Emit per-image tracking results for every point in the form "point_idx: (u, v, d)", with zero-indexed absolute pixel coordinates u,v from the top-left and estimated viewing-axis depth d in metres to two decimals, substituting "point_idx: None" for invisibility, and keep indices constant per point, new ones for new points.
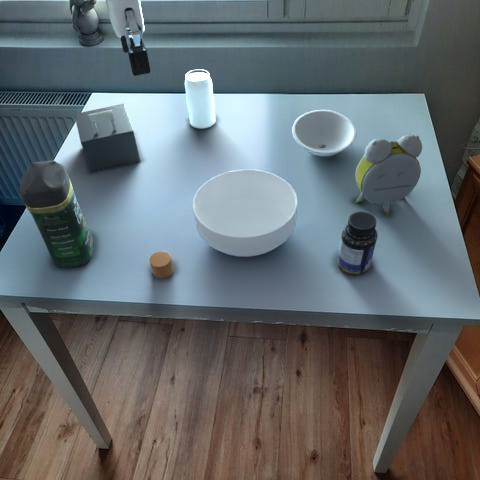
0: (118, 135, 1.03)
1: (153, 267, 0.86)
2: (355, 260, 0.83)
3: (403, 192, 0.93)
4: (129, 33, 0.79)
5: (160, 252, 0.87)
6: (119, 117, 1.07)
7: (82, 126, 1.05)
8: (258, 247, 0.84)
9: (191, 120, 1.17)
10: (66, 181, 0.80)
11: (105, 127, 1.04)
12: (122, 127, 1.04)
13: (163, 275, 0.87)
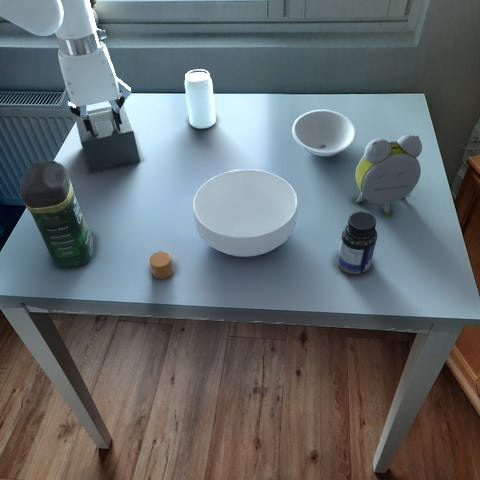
0: (118, 135, 1.03)
1: (153, 267, 0.86)
2: (355, 260, 0.83)
3: (403, 192, 0.93)
4: None
5: (160, 252, 0.87)
6: None
7: (82, 126, 1.05)
8: (258, 247, 0.84)
9: (191, 120, 1.17)
10: (66, 181, 0.80)
11: (105, 127, 1.04)
12: (122, 127, 1.04)
13: (163, 275, 0.87)
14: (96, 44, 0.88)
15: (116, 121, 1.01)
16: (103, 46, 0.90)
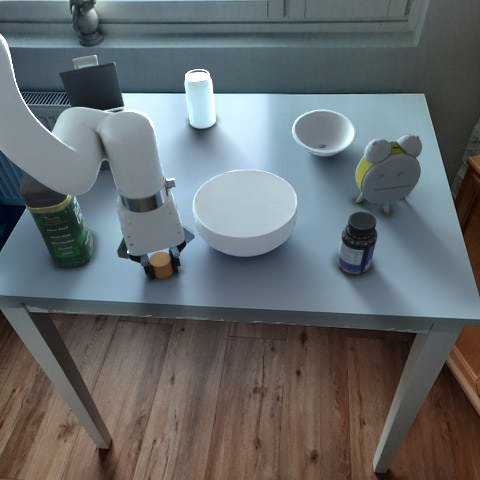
0: (98, 66, 0.98)
1: (153, 267, 0.86)
2: (355, 260, 0.83)
3: (403, 192, 0.93)
4: None
5: (160, 252, 0.87)
6: None
7: None
8: (258, 247, 0.84)
9: (191, 120, 1.17)
10: None
11: None
12: None
13: (163, 275, 0.87)
14: (164, 197, 0.74)
15: (174, 265, 0.87)
16: (170, 195, 0.76)
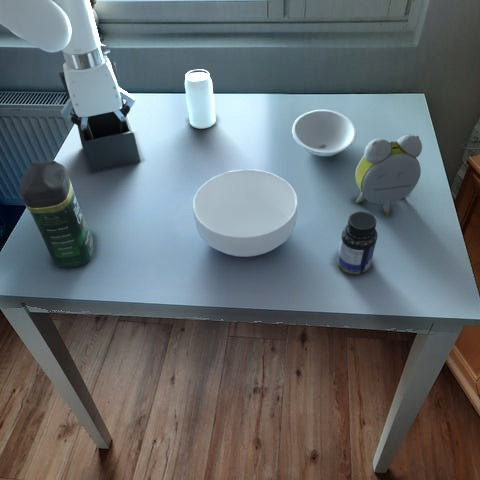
0: None
1: None
2: (355, 260, 0.83)
3: (403, 192, 0.93)
4: None
5: None
6: None
7: None
8: (258, 247, 0.84)
9: (191, 120, 1.17)
10: (66, 181, 0.80)
11: None
12: None
13: None
14: (100, 58, 0.92)
15: (121, 129, 1.05)
16: (106, 60, 0.94)
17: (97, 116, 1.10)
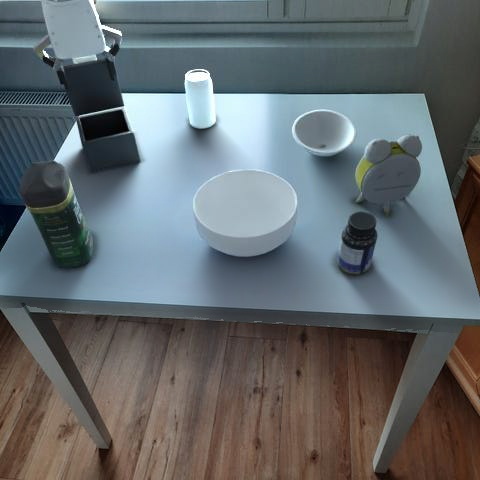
0: (97, 60, 0.99)
1: None
2: (355, 260, 0.83)
3: (403, 192, 0.93)
4: None
5: None
6: None
7: None
8: (258, 247, 0.84)
9: (191, 120, 1.17)
10: (66, 181, 0.80)
11: None
12: None
13: None
14: None
15: (110, 70, 0.98)
16: None
17: (97, 116, 1.10)
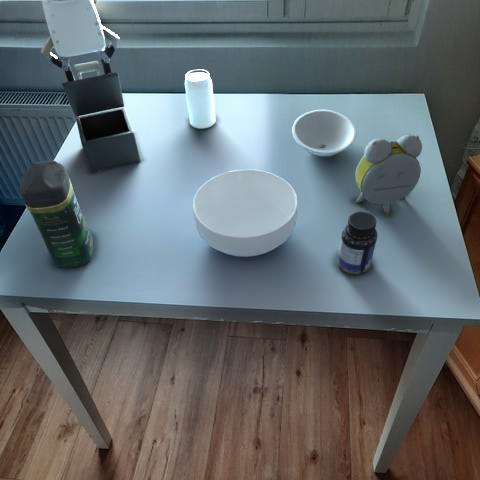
0: (101, 76, 0.98)
1: None
2: (355, 260, 0.83)
3: (403, 192, 0.93)
4: None
5: None
6: None
7: None
8: (258, 247, 0.84)
9: (191, 120, 1.17)
10: (66, 181, 0.80)
11: None
12: None
13: None
14: None
15: (105, 72, 0.99)
16: None
17: (97, 116, 1.10)
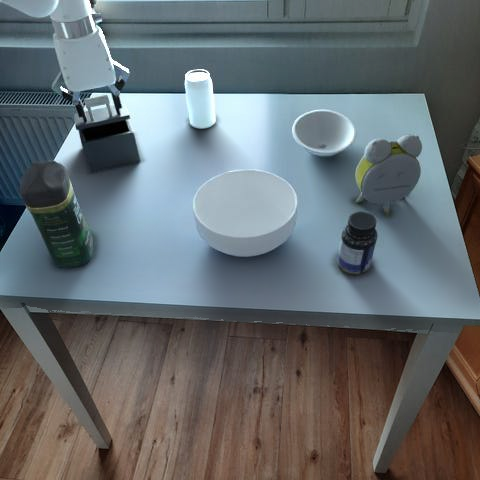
0: (114, 119, 1.00)
1: None
2: (355, 260, 0.83)
3: (403, 192, 0.93)
4: None
5: None
6: None
7: (79, 118, 1.04)
8: (258, 247, 0.84)
9: (191, 120, 1.17)
10: (66, 181, 0.80)
11: (102, 116, 1.03)
12: None
13: None
14: (91, 27, 0.87)
15: (115, 105, 1.00)
16: (99, 30, 0.89)
17: None
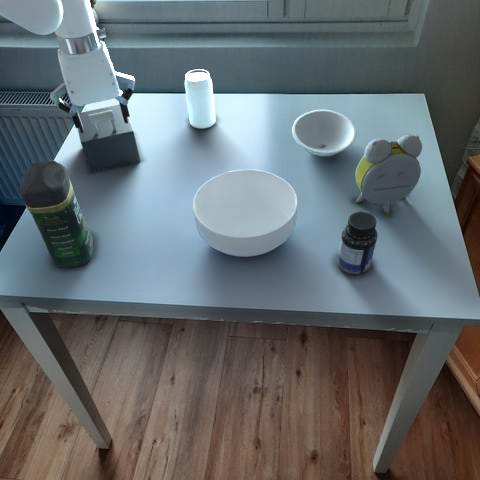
0: (118, 135, 1.03)
1: None
2: (355, 260, 0.83)
3: (403, 192, 0.93)
4: None
5: None
6: (119, 117, 1.07)
7: None
8: (258, 247, 0.84)
9: (191, 120, 1.17)
10: (66, 181, 0.80)
11: (105, 127, 1.04)
12: (122, 127, 1.04)
13: None
14: (96, 43, 0.88)
15: (123, 113, 1.00)
16: (103, 45, 0.90)
17: None
